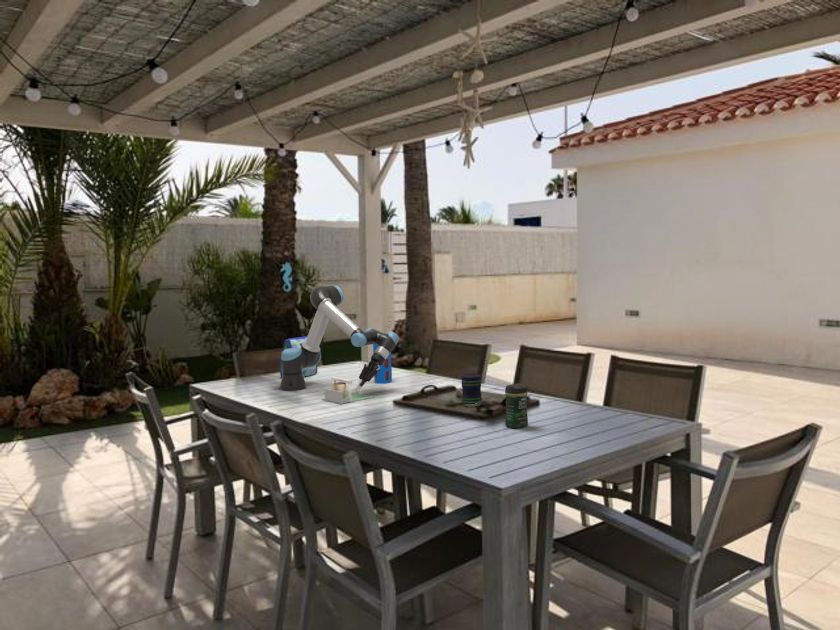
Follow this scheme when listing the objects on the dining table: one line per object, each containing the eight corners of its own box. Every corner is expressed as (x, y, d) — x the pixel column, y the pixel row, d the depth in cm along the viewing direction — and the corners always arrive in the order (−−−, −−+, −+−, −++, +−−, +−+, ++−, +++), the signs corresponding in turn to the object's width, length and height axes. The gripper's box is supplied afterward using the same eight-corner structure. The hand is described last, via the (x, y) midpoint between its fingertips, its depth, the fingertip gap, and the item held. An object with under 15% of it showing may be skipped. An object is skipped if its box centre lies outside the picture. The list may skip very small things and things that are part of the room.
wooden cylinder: (330, 400, 356) (330, 383, 356) (340, 398, 362) (340, 381, 361) (339, 402, 352) (338, 385, 351) (349, 400, 357) (348, 383, 356)
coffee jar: (515, 429, 285) (514, 386, 283) (502, 426, 291) (501, 384, 290) (531, 426, 291) (530, 383, 289) (518, 423, 297) (517, 381, 295)
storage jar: (471, 408, 330) (470, 377, 329) (457, 405, 337) (457, 375, 336) (485, 405, 336) (485, 375, 335) (472, 402, 344) (471, 373, 343)
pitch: (321, 399, 362) (321, 398, 362) (355, 393, 377) (355, 392, 376) (340, 404, 349) (340, 403, 349) (374, 397, 363) (374, 397, 363)
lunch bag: (298, 380, 427) (296, 339, 425) (278, 378, 435) (276, 338, 433) (320, 374, 446) (319, 335, 444) (301, 373, 454) (300, 334, 452)
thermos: (393, 380, 416) (391, 340, 414) (390, 383, 405) (389, 342, 403) (375, 380, 417) (374, 340, 415) (372, 383, 406) (371, 342, 404)
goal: (324, 399, 360) (324, 378, 359) (335, 397, 364) (334, 377, 363) (341, 403, 348) (340, 382, 347) (352, 401, 352) (351, 380, 352)
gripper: (391, 361, 369) (367, 396, 360) (376, 359, 379) (353, 393, 370) (382, 353, 366) (358, 387, 356) (368, 351, 376) (345, 384, 366)
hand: (356, 390), depth 363 cm, fingers closed
